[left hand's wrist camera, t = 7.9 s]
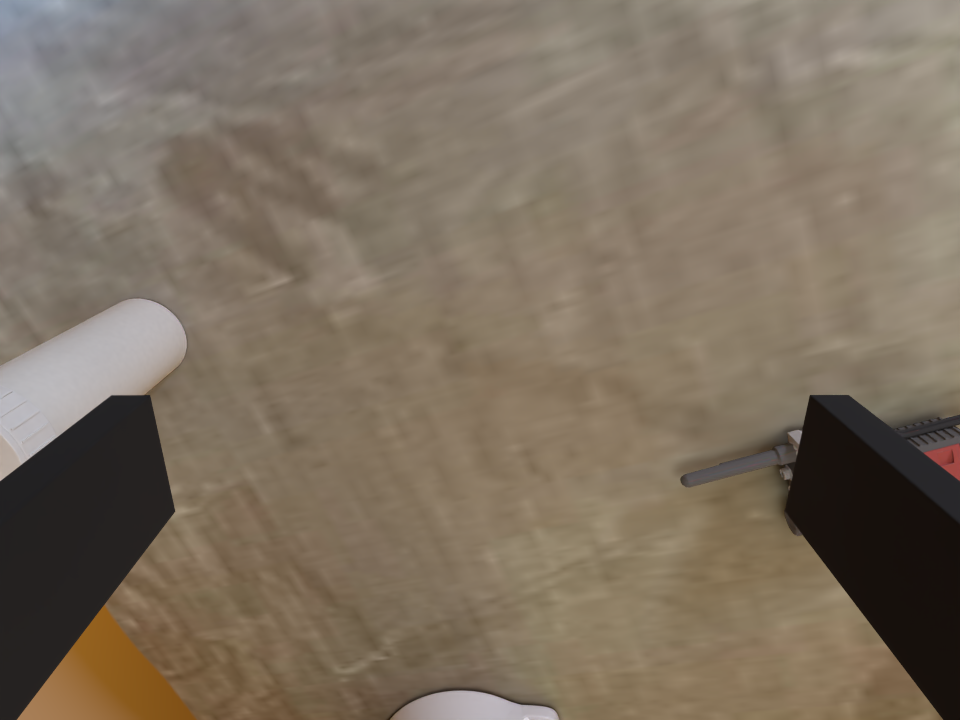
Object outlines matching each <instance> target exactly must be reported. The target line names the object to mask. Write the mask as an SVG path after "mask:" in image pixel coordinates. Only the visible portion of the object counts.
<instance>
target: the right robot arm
mask: <svg viewBox="0 0 960 720" xmlns="http://www.w3.org/2000/svg"><path fill="white" fill-rule="evenodd" d="M390 720H559V717H558V715H557V713H556V712H555V711H554V710H553V709H551V708H548V707H543V706H534V705H520V704H516V703H513V702H510V701H508V700H505V699H503V698H500V697H497V696H494V695H491V694H487V693H482V692H475V691H446V692H440V693H435V694H431V695H428V696H424V697H422V698H419V699H417V700H415V701H413V702H411V703H409V704H407V705H406V706H404V707H403V708H401V709H400V710H399V711H398V712H396V713H395V714H394V715H393V716H392V718H391V719H390Z"/></svg>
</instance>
